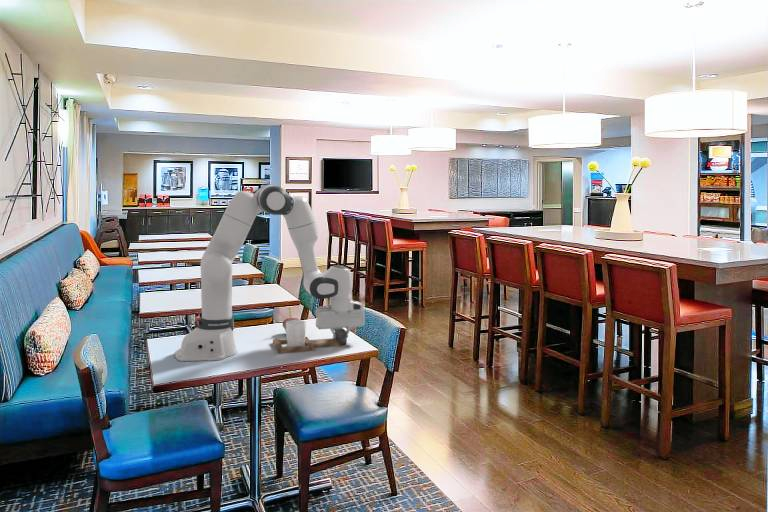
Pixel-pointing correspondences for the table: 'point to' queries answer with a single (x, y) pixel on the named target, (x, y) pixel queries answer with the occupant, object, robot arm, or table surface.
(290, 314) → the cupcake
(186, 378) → the table surface
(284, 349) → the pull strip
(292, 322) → the white cup
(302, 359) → the table surface
